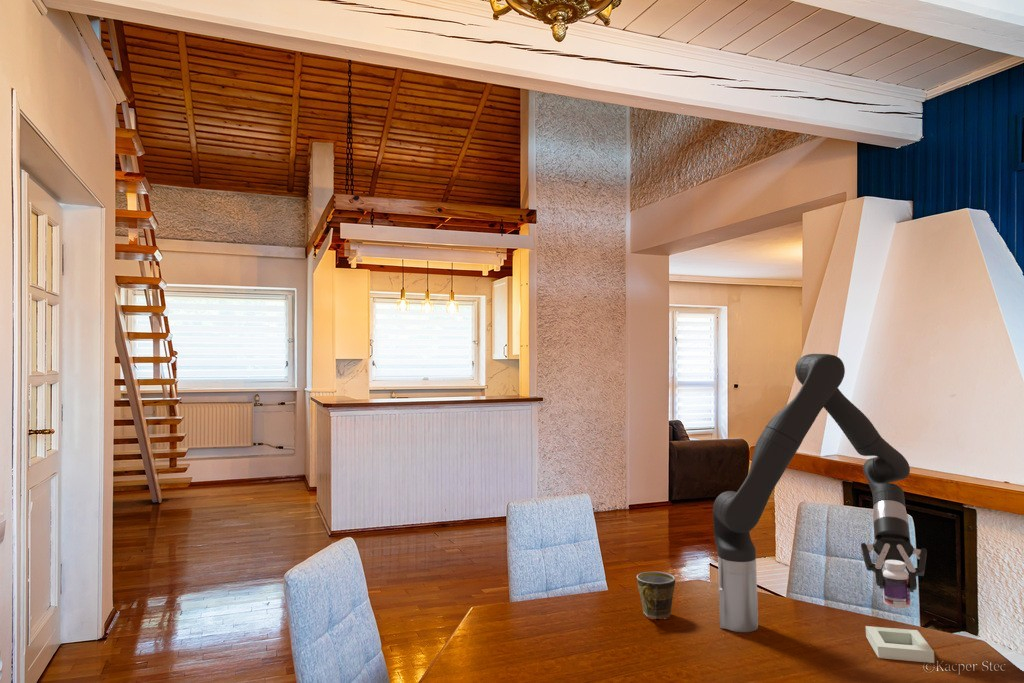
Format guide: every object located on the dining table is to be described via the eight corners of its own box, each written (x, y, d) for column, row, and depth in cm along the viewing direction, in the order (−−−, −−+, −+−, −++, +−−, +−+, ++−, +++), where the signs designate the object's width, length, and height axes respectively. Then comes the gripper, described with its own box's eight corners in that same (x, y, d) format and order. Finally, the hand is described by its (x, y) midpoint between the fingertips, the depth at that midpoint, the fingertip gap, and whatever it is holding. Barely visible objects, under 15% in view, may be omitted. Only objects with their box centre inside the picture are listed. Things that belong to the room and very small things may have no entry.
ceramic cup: (647, 606, 183) (646, 569, 183) (682, 613, 177) (680, 575, 178) (626, 621, 173) (625, 582, 173) (662, 629, 167) (661, 589, 167)
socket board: (878, 657, 148) (877, 646, 149) (866, 636, 160) (865, 626, 160) (934, 663, 145) (933, 651, 145) (917, 640, 157) (917, 630, 157)
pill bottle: (914, 609, 150) (912, 565, 150) (888, 608, 151) (886, 565, 151) (905, 600, 155) (903, 558, 156) (880, 599, 156) (878, 558, 157)
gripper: (857, 513, 164) (860, 576, 153) (925, 517, 157) (934, 584, 146) (858, 529, 168) (861, 592, 157) (924, 534, 162) (932, 601, 151)
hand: (896, 588), depth 152 cm, fingers closed on pill bottle, 5 cm apart
